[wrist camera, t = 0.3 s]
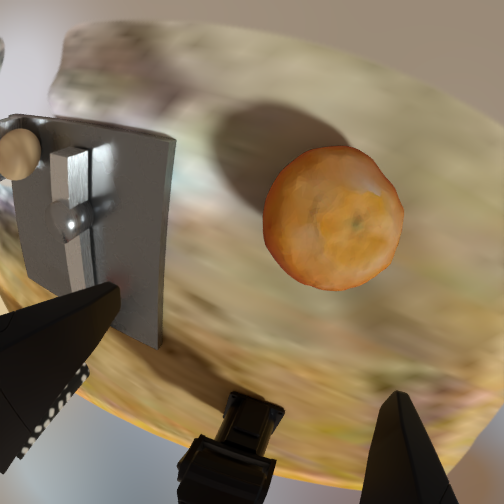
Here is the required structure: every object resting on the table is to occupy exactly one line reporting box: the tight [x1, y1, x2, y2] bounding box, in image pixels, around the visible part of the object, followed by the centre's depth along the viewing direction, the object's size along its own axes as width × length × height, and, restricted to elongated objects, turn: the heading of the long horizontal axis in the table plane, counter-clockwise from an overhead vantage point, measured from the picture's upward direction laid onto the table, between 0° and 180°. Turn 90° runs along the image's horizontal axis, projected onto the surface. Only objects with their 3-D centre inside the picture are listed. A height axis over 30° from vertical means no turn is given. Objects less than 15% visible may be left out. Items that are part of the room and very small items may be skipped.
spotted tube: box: [17, 362, 90, 460], centre depth 36 cm, size 8×8×20 cm
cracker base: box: [0, 114, 176, 350], centre depth 28 cm, size 22×22×4 cm
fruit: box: [263, 146, 404, 291], centre depth 18 cm, size 8×8×8 cm
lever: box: [44, 147, 94, 292], centre depth 26 cm, size 20×4×6 cm, turn 168°
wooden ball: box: [0, 129, 41, 180], centre depth 23 cm, size 5×5×5 cm
